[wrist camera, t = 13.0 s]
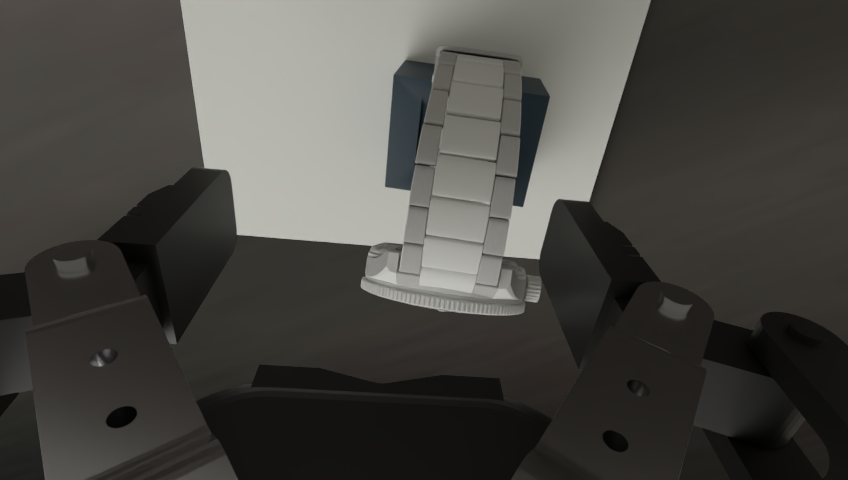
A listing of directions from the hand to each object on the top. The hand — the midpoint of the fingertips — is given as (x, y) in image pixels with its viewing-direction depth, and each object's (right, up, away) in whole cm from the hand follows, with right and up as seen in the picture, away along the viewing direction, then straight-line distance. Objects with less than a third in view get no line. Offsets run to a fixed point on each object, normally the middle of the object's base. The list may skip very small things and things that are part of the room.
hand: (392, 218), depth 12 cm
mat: (0, +5, +9) cm, 10 cm away
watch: (+3, +5, +9) cm, 10 cm away
